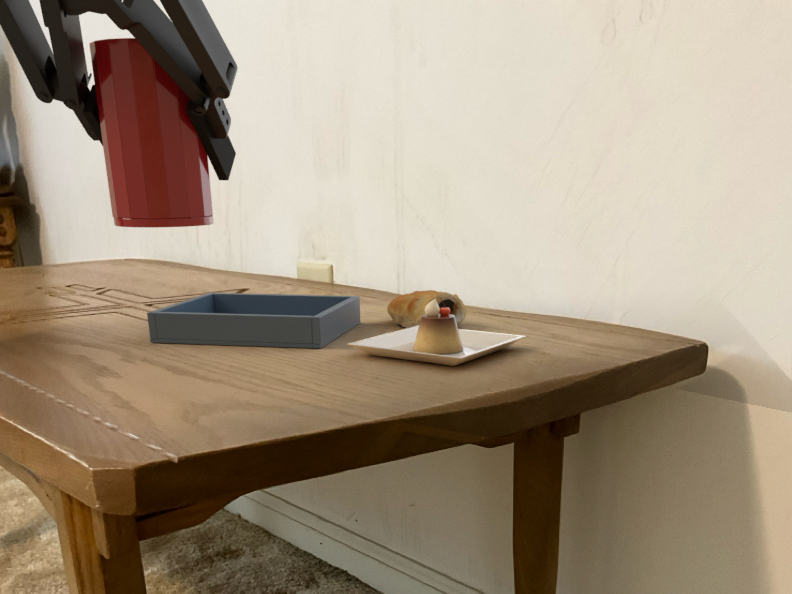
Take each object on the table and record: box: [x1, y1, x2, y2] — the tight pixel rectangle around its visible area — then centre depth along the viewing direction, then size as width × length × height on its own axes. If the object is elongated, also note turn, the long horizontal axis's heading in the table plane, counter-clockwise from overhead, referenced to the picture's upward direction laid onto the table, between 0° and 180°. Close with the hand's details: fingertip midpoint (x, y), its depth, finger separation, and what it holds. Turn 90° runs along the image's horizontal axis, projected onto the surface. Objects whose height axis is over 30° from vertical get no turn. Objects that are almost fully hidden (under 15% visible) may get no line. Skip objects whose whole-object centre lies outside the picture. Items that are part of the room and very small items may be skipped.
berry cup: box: [89, 37, 215, 228], centre depth 63 cm, size 7×7×12 cm
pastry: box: [386, 289, 467, 329], centre depth 92 cm, size 9×7×4 cm
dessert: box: [347, 299, 526, 367], centre depth 77 cm, size 12×12×5 cm
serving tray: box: [146, 292, 361, 349], centre depth 88 cm, size 18×15×3 cm
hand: (179, 166), depth 67 cm, fingers closed on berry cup, 7 cm apart
